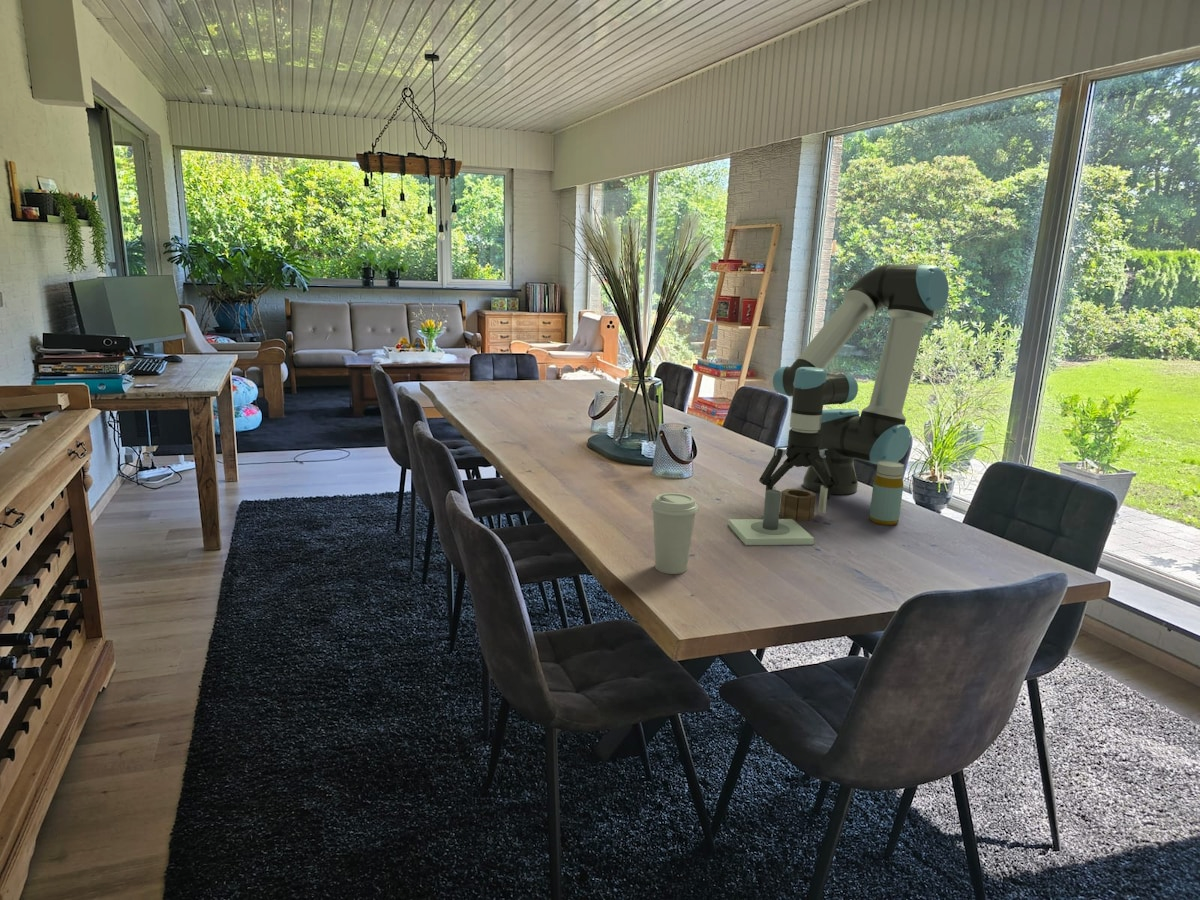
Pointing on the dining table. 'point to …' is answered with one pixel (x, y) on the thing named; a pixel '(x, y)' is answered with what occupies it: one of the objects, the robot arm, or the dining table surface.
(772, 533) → the post stand
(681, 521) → the coffee cup
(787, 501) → the collar
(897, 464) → the bottle
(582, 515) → the dining table surface
